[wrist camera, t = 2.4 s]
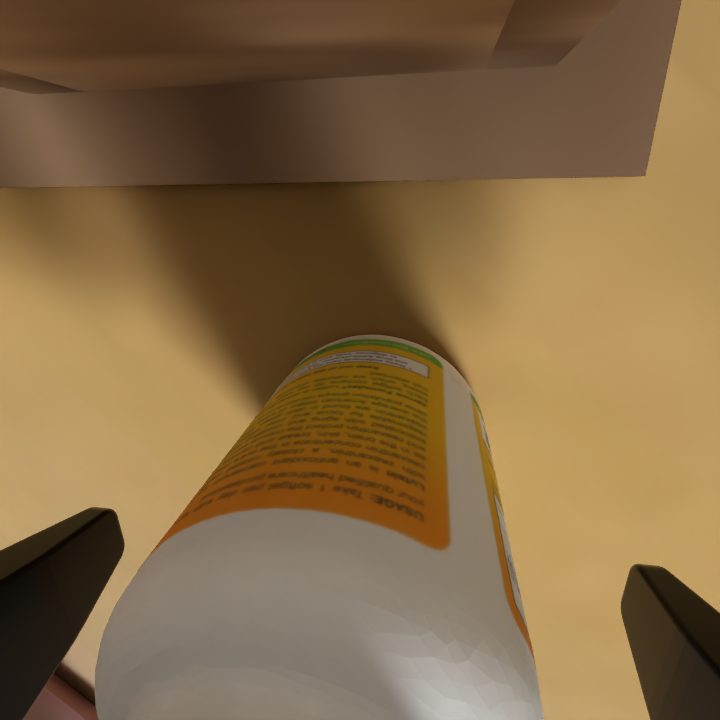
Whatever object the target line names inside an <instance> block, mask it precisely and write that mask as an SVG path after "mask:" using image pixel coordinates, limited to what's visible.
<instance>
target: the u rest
mask: <svg viewBox="0 0 720 720" xmlns="http://www.w3.org/2000/svg"><path fill="white" fill-rule="evenodd" d="M680 5H681V0H0V188H28V187H83V186H139V185H194V184H249V183H305V182H360V181H416V180H471V179H527V178H582V177H634V176H645V175H646V170H647V165H648V160H649V155H650V150H651V146H652V141H653V136H654V131H655V126H656V121H657V116H658V112H659V107H660V102H661V97H662V92H663V87H664V82H665V78H666V73H667V68H668V63H669V58H670V53H671V48H672V43H673V39H674V34H675V29H676V24H677V19H678V14H679V9H680Z"/></svg>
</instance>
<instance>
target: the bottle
mask: <svg viewBox="0 0 720 720" xmlns="http://www.w3.org/2000/svg"><path fill="white" fill-rule="evenodd" d="M23 720H98V715H97V710H96V707H95V706H94V705H93V704H92V703H91V702H89V701H88V700H87V699H86V698H84V697H83V696H82V695H81V694H79V693H78V692H77V691H76V690H74V689H73V688H72V687H71V686H69V685H68V684H67V683H66V682H64V681H63V680H62V679H61V678H59V677H58V676H57V675H55V674H54V673H53V675H52V676H51V678H50V679H49V681H48V682H47V684H46V685H45V687H44V689H43V690H42V692H41V693H40V695H39V696H38V698H37V699H36V701H35V702H34V704H33V705H32V707H31V708H30V710H29V711H28V713H27V714H26V716H25V717H24V719H23Z"/></svg>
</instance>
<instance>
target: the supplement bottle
mask: <svg viewBox="0 0 720 720" xmlns="http://www.w3.org/2000/svg"><path fill="white" fill-rule="evenodd" d="M94 690H95V702H96V710H97V715H98V720H544V719H543V711H542V704H541V697H540V691H539V684H538V678H537V672H536V666H535V661H534V655H533V650H532V645H531V641H530V638H529V634H528V629H527V624H526V619H525V614H524V609H523V605H522V600H521V596H520V591H519V586H518V581H517V577H516V572H515V567H514V562H513V558H512V553H511V548H510V543H509V539H508V534H507V529H506V524H505V519H504V514H503V508H502V504H501V499H500V494H499V489H498V484H497V480H496V474H495V470H494V465H493V460H492V455H491V450H490V445H489V442H488V436H487V431H486V427H485V423H484V420H483V416H482V413H481V410H480V407H479V404H478V402H477V399H476V397H475V395H474V393H473V391H472V390H471V388H470V386H469V385H468V383H467V382H466V381H465V379H464V378H463V377H462V376H461V375H460V373H459V372H458V371H457V370H456V369H455V368H454V367H453V366H452V365H451V364H450V363H449V362H447V361H446V360H445V359H443V358H442V357H441V356H439V355H438V354H436V353H434V352H433V351H431V350H429V349H428V348H426V347H423V346H421V345H419V344H416V343H414V342H411V341H408V340H405V339H401V338H397V337H391V336H384V335H359V336H351V337H347V338H343V339H340V340H337V341H334V342H331V343H329V344H327V345H325V346H323V347H321V348H319V349H317V350H316V351H314V352H313V353H311V354H310V355H308V356H307V357H306V358H305V359H303V360H302V361H301V362H300V363H299V364H298V365H297V366H296V367H295V368H294V369H293V370H292V372H291V373H290V374H289V375H288V376H287V377H286V378H285V379H284V381H283V382H282V383H281V385H280V386H279V387H278V388H277V389H276V391H275V392H274V394H273V395H272V396H271V398H270V399H269V400H268V402H267V403H266V405H265V406H264V407H263V408H262V410H261V411H260V412H259V413H258V415H257V416H256V417H255V419H254V420H253V421H252V423H251V424H250V425H249V426H248V428H247V429H246V430H245V432H244V433H243V434H242V436H241V437H240V438H239V440H238V441H237V442H236V443H235V445H234V446H233V447H232V449H231V450H230V451H229V452H228V454H227V455H226V456H225V458H224V459H223V460H222V462H221V463H220V464H219V465H218V467H217V468H216V469H215V471H214V472H213V473H212V475H211V476H210V477H209V478H208V480H207V481H206V482H205V484H204V485H203V486H202V488H201V489H200V490H199V491H198V493H197V494H196V495H195V497H194V498H193V499H192V500H191V502H190V503H189V504H188V506H187V507H186V508H185V510H184V511H183V512H182V514H181V515H180V516H179V518H178V519H177V520H176V521H175V523H174V524H173V525H172V527H171V528H170V529H169V531H168V532H167V533H166V534H165V536H164V537H163V538H162V540H161V541H160V542H159V543H158V545H157V546H156V547H155V549H154V550H153V551H152V552H151V554H150V555H149V556H148V558H147V559H146V560H145V562H144V563H143V564H142V566H141V567H140V568H139V570H138V572H137V573H136V575H135V576H134V578H133V579H132V581H131V582H130V584H129V585H128V587H127V588H126V589H125V591H124V592H123V594H122V596H121V597H120V599H119V601H118V602H117V604H116V605H115V607H114V610H113V612H112V614H111V616H110V618H109V621H108V623H107V625H106V628H105V630H104V633H103V636H102V640H101V643H100V649H99V654H98V659H97V664H96V670H95V688H94Z"/></svg>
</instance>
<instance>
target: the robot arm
mask: <svg viewBox="0 0 720 720" xmlns="http://www.w3.org/2000/svg"><path fill="white" fill-rule="evenodd" d="M123 551H124V539H123V535H122V531H121V528H120V524H119V520H118V517H117V514H116V512H115V511H114V510H112V509H108V508H99V507H92V508H89V509H86V510H84V511H82V512H80V513H78V514H76V515H74V516H72V517H70V518H68V519H65V520H63V521H61V522H59V523H57V524H55V525H53V526H51V527H49V528H47V529H45V530H42V531H40V532H38V533H36V534H34V535H32V536H30V537H28V538H26V539H24V540H22V541H20V542H17V543H15V544H13V545H11V546H9V547H7V548H5V549H3V550H1V551H0V720H23V719H24V717H25V716H26V714H27V713H28V711H29V710H30V708H31V707H32V705H33V704H34V702H35V701H36V699H37V698H38V696H39V695H40V693H41V692H42V690H43V689H44V687H45V685H46V684H47V682H48V681H49V679H50V678H51V676H52V675H53V673H54V672H55V670H56V669H57V667H58V666H59V664H60V663H61V661H62V660H63V658H64V657H65V655H66V654H67V652H68V651H69V649H70V647H71V646H72V644H73V643H74V641H75V640H76V638H77V636H78V634H79V633H80V631H81V629H82V628H83V626H84V624H85V622H86V620H87V619H88V617H89V615H90V613H91V611H92V610H93V608H94V606H95V604H96V602H97V600H98V599H99V597H100V595H101V593H102V591H103V590H104V588H105V586H106V584H107V582H108V580H109V579H110V577H111V575H112V573H113V571H114V570H115V568H116V566H117V564H118V562H119V560H120V559H121V557H122V554H123ZM621 613H622V618H623V622H624V626H625V629H626V633H627V637H628V640H629V644H630V648H631V651H632V655H633V659H634V662H635V666H636V670H637V673H638V677H639V680H640V684H641V688H642V691H643V695H644V699H645V702H646V706H647V710H648V713H649V716H650V720H720V613H719V612H718V611H717V610H716V609H714V608H713V607H712V606H711V605H709V604H708V603H707V602H706V601H705V600H703V599H702V598H701V597H700V596H698V595H697V594H696V593H695V592H694V591H692V590H691V589H690V588H689V587H687V586H686V585H685V584H684V583H682V582H681V581H680V580H679V579H678V578H676V577H675V576H674V575H673V574H671V573H670V572H669V571H668V570H666V569H665V568H663V567H660V566H652V565H643V564H635V565H633V566H632V567H631V569H630V571H629V575H628V578H627V582H626V586H625V589H624V593H623V596H622V601H621Z"/></svg>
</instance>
